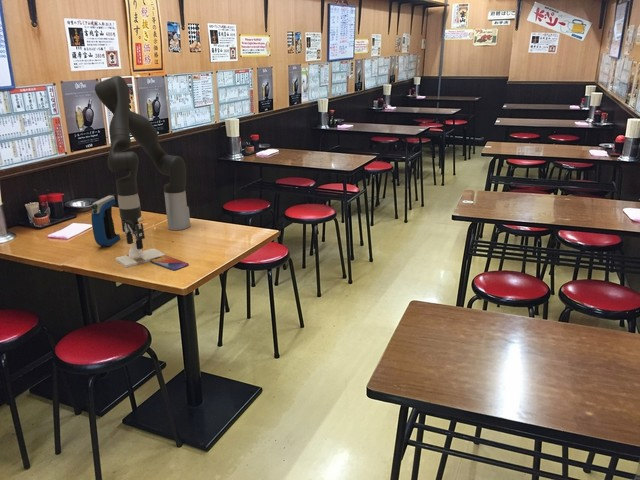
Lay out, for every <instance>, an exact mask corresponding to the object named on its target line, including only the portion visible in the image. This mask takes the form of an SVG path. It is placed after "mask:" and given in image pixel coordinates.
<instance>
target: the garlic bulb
mask: <svg viewBox="0 0 640 480" xmlns="http://www.w3.org/2000/svg"><path fill="white" fill-rule="evenodd" d="M143 251H144V250H143V249H139V250H138V249H137V247H136V241H133V243H132V245H130V248H129V250H128V255H129V257H130V259H139V258H142V257H143V255H144V253H143Z"/></svg>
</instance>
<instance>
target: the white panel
mask: <svg viewBox="0 0 640 480" xmlns="http://www.w3.org/2000/svg"><path fill="white" fill-rule="evenodd" d="M142 251H143V253H144V255H143V257H142V258H139V259H130V257H129V254H126V255H122V256H118V257H115V258H114V260H115V262H117V263H119V264H120V265H121V266H123V267H125V268H130V267H134V266H137V265H141V264H144V263H148V262H150V260H152V259H155V258H157V257H161V256H165V255H166V254H165V253H163V252H161V251H160V250H158V249H156V248H155V247H154V248H150V249H146V250H142Z"/></svg>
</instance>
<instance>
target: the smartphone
mask: <svg viewBox="0 0 640 480" xmlns="http://www.w3.org/2000/svg"><path fill="white" fill-rule="evenodd" d="M149 262H150V264H154V265H155V266H159V267H160V268H163V269H168V270H170V271H173V272H176V271H179V270H181V269H184V268H186V267H189V266H190V265H189V262H185V261H182V260H180V259H177V258H174V257H172V256H169V255H166V254H165V256H161V257H157V258H155V259H152V260H150V261H149Z"/></svg>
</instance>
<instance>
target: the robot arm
mask: <svg viewBox="0 0 640 480" xmlns="http://www.w3.org/2000/svg"><path fill="white" fill-rule="evenodd" d="M94 92H95V94H96V96H97V98H98V99H99V101H100V102H101V103H102V104H103V106H105V107H106V108H107V109H108V110H109V111H110V112H111V113H112V118H111V120H110V122H109V130H108V131H109V132H108V133H109V141H110V147H109V153H108V157H107V167H108V169H109V170H110V171H111V172H114V173H122V172H123V173H125V172H129V173H128V174H127V175H126V176H123V177H119V178H117V179H116V183H115V184H116V192H117V202H118V204H117V205H118V210H119V216H120V220H121V229H122V232H123V233H124V234H125V236H126V237H125V238H126V243H127V244H128V245H131V244H132V245H133V242H134V239H135V243H136V247H137V249H138V250H139V249H142V250H143V249H144V245H143V244H144V243H143V240H144V239H145V237H146V236H145V231H144V225H143V223H141V222H138V218H140V217H142V210H141V209H142V207H141V202H140V201H141V200H140V197H139V193H138V191H139V190H138V183H137V174H138V169H139V164H140V162H139V161H140V160H139V159H140V158H139V156H138V154H137V153H136V152H135V151H127V150H129V149H130V148H131V146H132V141H131V136H132V138H133V139H134V140H135V141H136V142H137V143H138V144H139V146H140V147H141V148H142V150H143V151H144V152H145V153H146V154H147V155H148V157H149V158H150V160H151V161H152V163H153V164H154V166H155V167H156V169H157V170H158V172H159V173H160V174H162V175H163V176H166V177H169V183H165V184H164V185H163V193H164V202H165V210H166V212H165V213H166V220H167V228H168V229H169V230H171V231H182V230H185V229H188V228H190V227H191V218H190V217H191V216H190V206H188V203H187V194H186V192H187V191H186V185H187V168H186V163H185V160H184V159H183V157H182V156H178V155H171V154H168V153H167V152H166V151H165V150H164V148H163V147H162V146H161V145H160V139H159V138H160V137H159V134H158V131H157V130H156V128H155V127H154V125H153V124H152V123H151V122H150V120H149V119H148V118H146V117H145V116H143V115H142V114H140V113H137V112H135V111H132V110H131V109H130V105H131V103H130V102H131V100H130V99H131V93H130V87H129V85H128V83H127V81H126V80H125V79H124V77H122V76H120V75H115V76H112V77H110V78H107V79H104V80H102V81H100V82H98V83H96V84H95V86H94Z"/></svg>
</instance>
